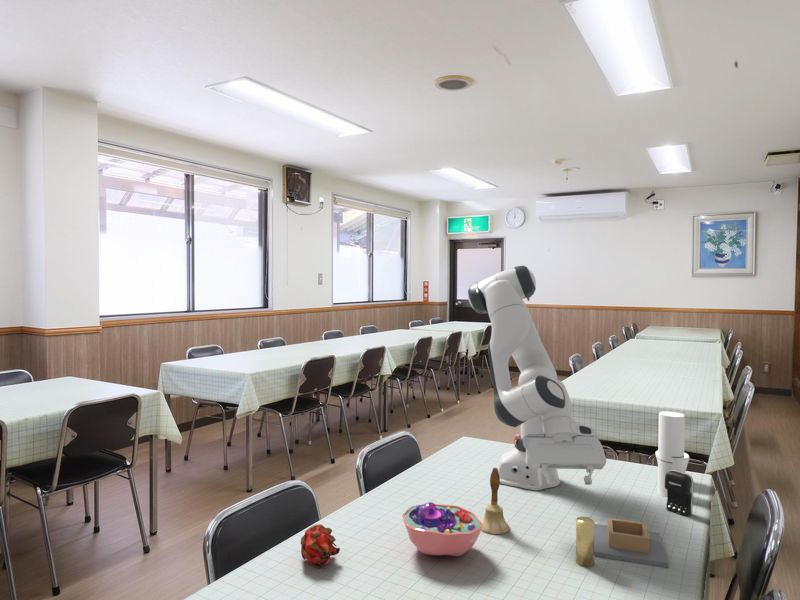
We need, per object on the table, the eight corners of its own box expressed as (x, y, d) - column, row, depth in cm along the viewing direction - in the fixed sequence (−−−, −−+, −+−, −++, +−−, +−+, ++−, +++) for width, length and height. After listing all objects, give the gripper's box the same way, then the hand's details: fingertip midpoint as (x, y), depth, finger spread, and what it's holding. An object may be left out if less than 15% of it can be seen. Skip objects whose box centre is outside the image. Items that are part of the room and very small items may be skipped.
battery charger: (662, 509, 153) (662, 470, 153) (669, 506, 155) (670, 467, 155) (686, 518, 147) (687, 477, 147) (693, 515, 149) (694, 475, 149)
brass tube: (575, 565, 122) (576, 522, 122) (575, 556, 126) (576, 515, 126) (594, 568, 121) (594, 525, 121) (593, 559, 125) (594, 518, 125)
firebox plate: (593, 555, 127) (593, 537, 127) (592, 527, 142) (593, 510, 142) (667, 567, 121) (668, 548, 121) (658, 536, 137) (659, 519, 136)
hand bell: (490, 518, 148) (490, 461, 147) (515, 527, 142) (516, 468, 141) (472, 527, 142) (472, 468, 141) (497, 538, 136) (498, 476, 135)
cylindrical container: (686, 499, 160) (688, 417, 159) (661, 497, 162) (662, 416, 161) (679, 490, 167) (680, 411, 166) (655, 488, 169) (656, 410, 168)
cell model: (464, 579, 116) (464, 529, 116) (388, 555, 127) (388, 508, 127) (493, 547, 131) (493, 502, 131) (422, 527, 141) (422, 486, 141)
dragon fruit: (313, 553, 131) (328, 585, 120) (286, 540, 127) (299, 572, 117) (334, 524, 132) (350, 552, 121) (308, 510, 128) (322, 538, 118)
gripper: (523, 428, 142) (529, 477, 132) (600, 428, 141) (613, 478, 131) (520, 439, 146) (526, 488, 137) (595, 440, 145) (607, 489, 136)
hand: (569, 483), depth 134 cm, fingers open, 8 cm apart
